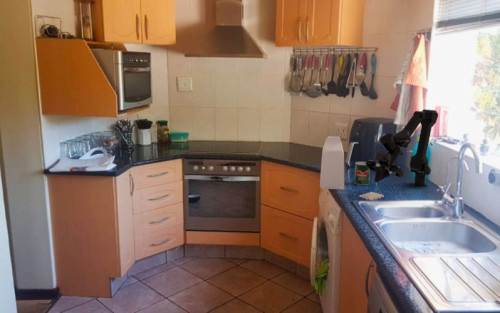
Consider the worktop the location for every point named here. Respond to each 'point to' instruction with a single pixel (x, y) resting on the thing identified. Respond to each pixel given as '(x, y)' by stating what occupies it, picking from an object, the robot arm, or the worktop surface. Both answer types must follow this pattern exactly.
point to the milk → (332, 164)
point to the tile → (371, 196)
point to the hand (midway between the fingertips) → (375, 182)
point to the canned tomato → (361, 174)
